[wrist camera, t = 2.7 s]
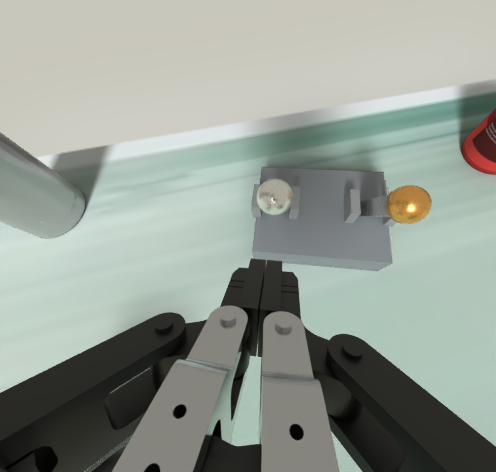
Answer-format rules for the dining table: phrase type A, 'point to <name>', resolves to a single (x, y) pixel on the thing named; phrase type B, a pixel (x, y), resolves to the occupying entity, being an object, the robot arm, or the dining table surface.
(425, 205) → the lever orange
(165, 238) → the dining table surface
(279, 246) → the console
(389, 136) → the dining table surface
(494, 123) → the canned food
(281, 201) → the lever white
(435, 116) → the dining table surface
